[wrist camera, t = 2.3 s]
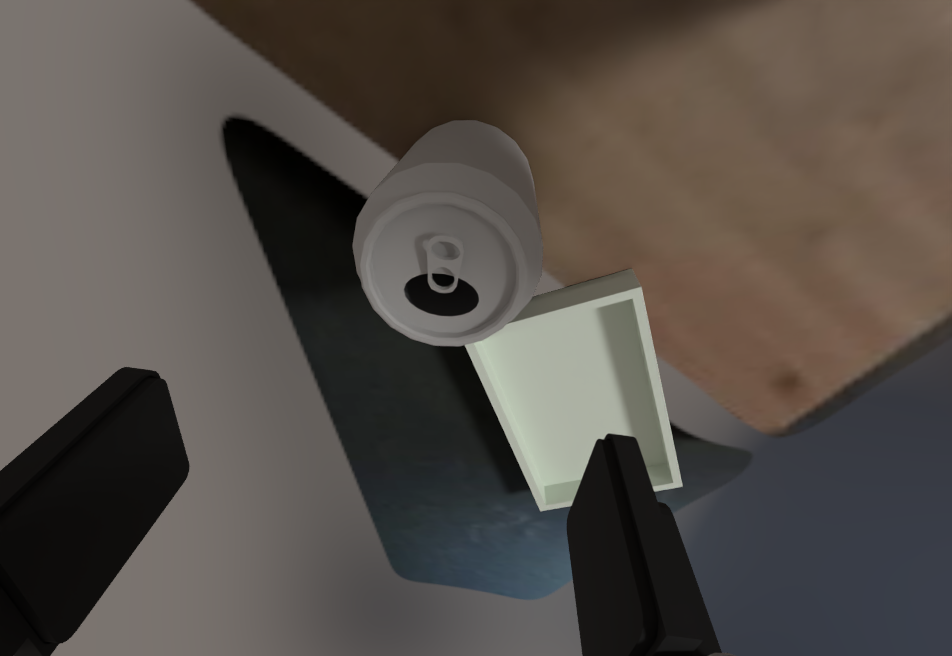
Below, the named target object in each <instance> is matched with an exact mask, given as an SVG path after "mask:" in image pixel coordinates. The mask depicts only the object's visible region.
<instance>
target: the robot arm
mask: <svg viewBox="0 0 952 656" xmlns="http://www.w3.org/2000/svg"><path fill="white" fill-rule="evenodd" d="M188 472H189V461H188V458H187V454H186V451H185V447H184V443H183V440H182V436H181V433H180V429H179V426H178V422H177V418H176V415H175V411H174V408H173V404H172V401H171V397H170V393H169V390H168V387H167V383H166V381H165V380H164V379H161V378H160V376H159V374H158V373H157V372H156V371H152V370H145V369H137V368H130V367H124V368H121V369H120V370H118V371H117V372H115V373H114V374H113V375H112V376H111V377H110V378H108V379H107V380H106V381H105V382H104V383H103V384H101V385H100V386H99V387H98V388H97V389H96V390H94V391H93V392H92V393H91V394H90V395H88V396H87V397H86V398H85V399H84V400H83V401H82V402H80V403H79V404H78V405H77V406H76V407H74V409H72V410H71V411H70V412H69V413H68V414H66V415H65V416H64V417H63V418H62V419H60V421H58V422H57V423H56V424H55V425H54V426H52V427H51V428H50V429H49V430H48V431H46V432H45V433H44V434H43V435H42V436H41V437H39V438H38V439H37V440H36V441H35V442H34V443H32V444H31V445H30V446H29V447H28V448H27V449H25V450H24V451H23V452H22V453H21V454H20V455H18V456H17V457H16V458H15V459H14V460H13V461H11V462H10V463H9V464H8V465H7V466H5V467H4V468H3V469H2V470H1V471H0V656H50V655H51V654H52V652H53V651H54V650H55V648H56V647H57V646H58V644H59V643H63V642H65V641H67V640H68V639H69V638H70V637H72V635H73V634H74V633H75V632H76V631H77V629H78V628H79V627H80V625H81V624H82V622H83V621H84V620H85V618H86V617H87V615H88V614H89V613H90V611H91V610H92V608H93V607H94V606H95V604H96V603H97V601H98V600H99V599H100V598H101V596H102V595H103V593H104V592H105V591H106V589H107V588H108V586H109V585H110V583H111V582H112V581H113V580H114V578H115V577H116V575H117V574H118V573H119V571H120V570H121V569H122V567H123V566H124V564H125V563H126V562H127V560H128V559H129V557H130V556H131V555H132V553H133V552H134V550H135V549H136V548H137V546H138V545H139V544H140V542H141V541H142V540H143V538H144V537H145V535H146V534H147V533H148V531H149V530H150V529H151V527H152V526H153V524H154V523H155V522H156V520H157V519H158V517H159V516H160V515H161V513H162V512H163V511H164V509H165V508H166V506H167V505H168V503H169V502H170V501H171V500H172V498H173V497H174V495H175V494H176V492H177V491H178V490H179V488H180V487H181V486H182V484H183V483H184V481H185V480H186V478H187V476H188ZM567 536H568V544H569V552H570V560H571V568H572V576H573V583H574V591H575V599H576V607H577V615H578V623H579V631H580V638H581V646H582V654H583V656H735V655H732V654H729V653H722V652H721V649H720V646H719V643H718V640H717V638H716V635H715V632H714V629H713V626H712V623H711V621H710V618H709V615H708V612H707V609H706V607H705V604H704V601H703V598H702V595H701V593H700V590H699V587H698V584H697V581H696V578H695V575H694V573H693V570H692V567H691V564H690V561H689V559H688V556H687V553H686V550H685V547H684V544H683V542H682V539H681V536H680V533H679V531H678V527H677V525H676V522H675V519H674V516H673V514H672V512H671V510H670V508H669V507H668V506H667V505H666V504H665V503H661V502H657V499H656V496H655V493H654V490H653V487H652V484H651V481H650V478H649V474H648V471H647V468H646V465H645V462H644V459H643V456H642V453H641V450H640V447H639V444H638V442H637V439H636V438H635V437H632V436H625V435H618V434H610V433H608V434H607V435H606V436H605V438H604V439H597V441H596V443H595V445H594V448H593V451H592V453H591V456H590V458H589V461H588V464H587V466H586V469H585V472H584V474H583V477H582V480H581V482H580V485H579V487H578V490H577V493H576V495H575V498H574V501H573V503H572V506H571V509H570V511H569V514H568V518H567Z"/></svg>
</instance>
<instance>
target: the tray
mask: <svg viewBox="0 0 952 656" xmlns="http://www.w3.org/2000/svg"><path fill="white" fill-rule="evenodd" d="M465 347H466V349H467V351H468V353H469V356H470V358H471V360H472V362H473V364H474V367H475V369H476V371H477V373H478V375H479V378H480V380H481V382H482V384H483V386H484V389H485V391H486V393H487V395H488V397H489V400H490V402H491V404H492V406H493V408H494V410H495V413H496V415H497V417H498V419H499V421H500V424H501V426H502V428H503V430H504V432H505V435H506V437H507V439H508V441H509V443H510V446H511V448H512V450H513V452H514V454H515V456H516V459H517V461H518V463H519V465H520V467H521V470H522V472H523V474H524V476H525V478H526V481H527V483H528V485H529V487H530V489H531V492H532V494H533V496H534V498H535V500H536V502H537V505H538V507H539V509H540V511H545V510H551V509H556V508H562V507H568V506H572V503H573V501H574V498H575V495H576V493H577V490H578V487H579V485H580V482H581V480H582V477H583V474H584V472H585V469H586V466H587V464H588V461H589V458H590V456H591V453H592V451H593V448H594V445H595V443H596V441H597V439H604V438H605V436H606V435H607V434H608V433H610V434H618V435H625V436H632V437H635V438H636V439H637V442H638V444H639V447H640V450H641V453H642V456H643V459H644V462H645V465H646V468H647V471H648V474H649V478H650V481H651V484H652V487H653V490H654V491H660V490H666V489H672V488H677V487H683V486H682V481H681V476H680V471H679V466H678V462H677V457H676V452H675V447H674V442H673V437H672V433H671V428H670V423H669V418H668V413H667V409H666V404H665V399H664V394H663V389H662V385H661V380H660V375H659V370H658V365H657V360H656V355H655V351H654V346H653V341H652V336H651V331H650V326H649V322H648V317H647V312H646V307H645V302H644V298H643V293H642V288H641V285H640V283H639V281H638V279H637V277H636V276H635V274H634V272H633V270H632V268H631V269H628V270H624V271H621V272H617V273H614V274H611V275H607V276H604V277H600V278H597V279H593V280H590V281H586V282H583V283H579V284H576V285H572V286H569V287H565V288H562V289H558V290H555V291H551V292H548V293H544V294H541V295H537V296H534V297H532V299H531V300H530V302H529V303H528V304H527V305H526V306H525V307H524V308H523V309H522V310H521V312H520V313H519V314H518V315H517V316H516V317H515V318H514V319H513V320H512V321H510V322H508V323H507V324H506V325H505V326H504V328H503V329H501V330H499V331H498V332H496V333H494V334H493V335H491V336H489V337H488V338H486V339H484V340H482V341H479V342H475V343H471V344H467V345H465Z"/></svg>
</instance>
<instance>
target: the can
mask: <svg viewBox="0 0 952 656" xmlns="http://www.w3.org/2000/svg"><path fill="white" fill-rule="evenodd" d="M352 246H353V252H354V258H355V264H356V270H357V274H358V276H359V278H360V280H361V284H362V288H363V290H364V292H365V294H366V296H367V298H368V300H369V302H370V304H371V305H372V307H373V309H374V310H375V311H376V312H377V313H378V314H379V315H380V316H381V317H382V318H383V319H384V321H385V322H386V323H387V324H388V325H389V326H390V327H392V328H394V329H395V330H397V331H399V332H400V333H402V334H404V335H405V336H407V337H409V338H411V339H413V340H416V341H420V342H423V343H427V344H430V345H434V346H463V345H467V344H471V343H475V342H479V341H482V340H484V339H486V338H488V337H489V336H491V335H493V334H494V333H496V332H498V331H499V330H501V329H503V328H504V326H505V325H506V324H507V323H508V322H510V321H512V320H513V319H514V318H515V317H516V316H517V315H518V314H519V313H520V312H521V310H522V309H523V308H524V307H525V306H526V305H527V304H528V303H529V302H530V300H531V299H532V296H533V294H534V292H535V289H536V287H537V284H538V282H539V280H540V277H541V275H542V259H543V242H542V235H541V229H540V222H539V215H538V208H537V201H536V195H535V188H534V181H533V177H532V174H531V170H530V167H529V163H528V160H527V158H526V157H525V155H524V154H523V152H522V151H521V149H520V148H519V146H518V145H517V143H516V142H515V141H514V140H513V139H512V138H510V137H509V136H508V135H506V134H505V133H504V132H503V131H501V130H500V129H499V128H497V127H495V126H492V125H489V124H486V123H483V122H480V121H477V120H453V121H450V122H448V123H445V124H442V125H440V126H437V127H434V128H432V129H431V130H430V131H429V132H427V133H426V134H425V135H424V136H423V137H421V138H420V139H419V140H418V141H417V142H416V143H415V144H414V145H413V146H412V147H411V148H410V150H409V151H408V152H407V153H406V154H405V155H404V156H403V158H402V159H401V160H400V161H399V162H398V163H397V164H396V166H395V167H394V168H393V169H392V170H391V171H390V173H389V174H388V175H387V176H386V177H385V178H384V179H383V181H382V182H381V183H380V184H379V185H378V186H377V187H376V188H375V190H374V191H373V192H372V193H371V195H370V197H369V198H368V200H367V202H366V204H365V205H364V207H363V209H362V210H361V212H360V214H359V216H358V217H357V222H356V227H355V233H354V239H353V245H352Z"/></svg>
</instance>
